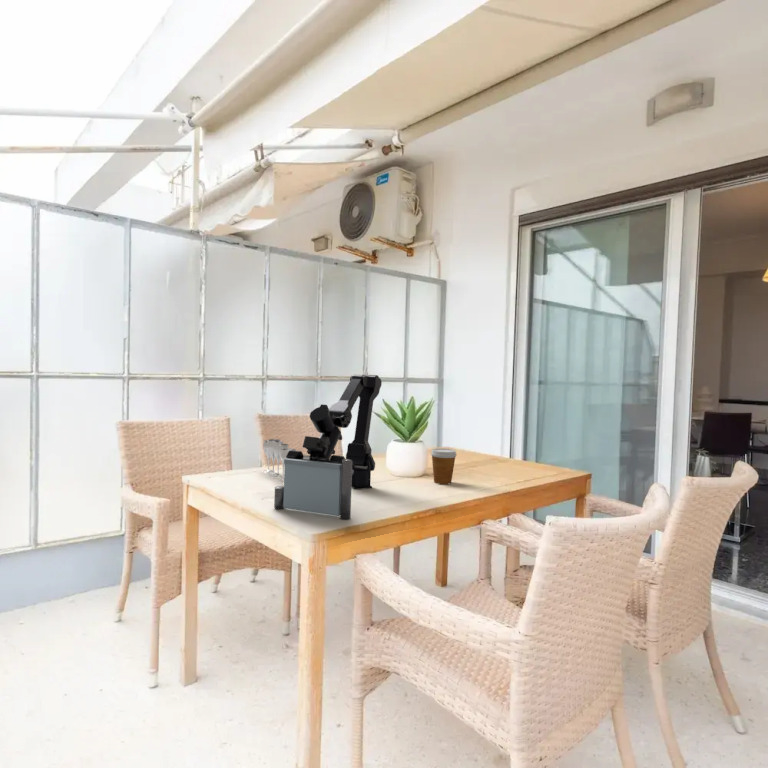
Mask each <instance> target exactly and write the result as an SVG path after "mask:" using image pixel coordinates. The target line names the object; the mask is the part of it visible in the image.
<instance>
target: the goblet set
mask: <svg viewBox="0 0 768 768" xmlns="http://www.w3.org/2000/svg"><path fill="white" fill-rule="evenodd" d="M262 450H263V452H264V454H265V456H266V457H267V462H268V463H267V467H268V468H267V469H265V470H263V471H264V472H263V473H267V472H269V473H267V474H270V475H269V476H274V477H282V476H283V478H279V479H280V480H284V467H285V464H284V459H287V458H286V455H287V454H288V452H289V451H290V450H295V451H297V449H296V448H289V444H288V443H284V441H282V440H281V439H279V438H278V439H273V438H271V439H270V438H269V439H267V440H263V443H262ZM270 461H272V469H270ZM275 461H276V462H277V472H275ZM280 462H281V465H282V475H280V473H279V470H280V468H279V467H280ZM277 474H279V475H277Z"/></svg>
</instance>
